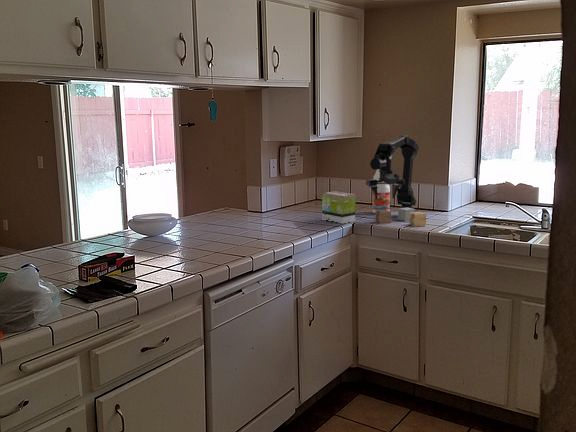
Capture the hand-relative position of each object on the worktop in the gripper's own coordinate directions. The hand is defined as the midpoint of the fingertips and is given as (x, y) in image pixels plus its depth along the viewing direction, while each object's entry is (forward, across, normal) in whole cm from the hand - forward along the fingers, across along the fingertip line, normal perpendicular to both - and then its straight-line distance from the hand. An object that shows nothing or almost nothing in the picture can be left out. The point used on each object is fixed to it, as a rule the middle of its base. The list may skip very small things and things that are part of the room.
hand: (384, 198), depth 295 cm
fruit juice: (+12, +9, +26) cm, 30 cm away
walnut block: (+12, 0, 0) cm, 12 cm away
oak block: (+12, +13, -11) cm, 21 cm away
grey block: (+12, +14, +3) cm, 19 cm away
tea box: (+12, -21, +10) cm, 27 cm away
